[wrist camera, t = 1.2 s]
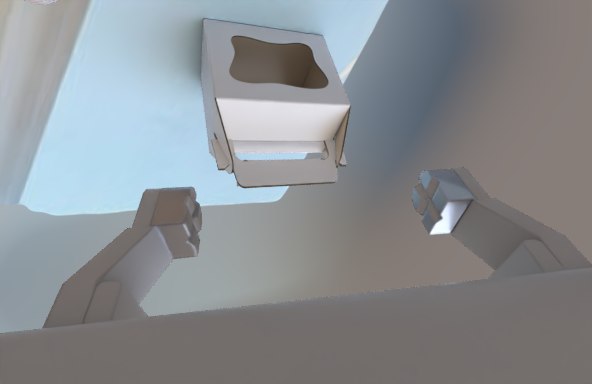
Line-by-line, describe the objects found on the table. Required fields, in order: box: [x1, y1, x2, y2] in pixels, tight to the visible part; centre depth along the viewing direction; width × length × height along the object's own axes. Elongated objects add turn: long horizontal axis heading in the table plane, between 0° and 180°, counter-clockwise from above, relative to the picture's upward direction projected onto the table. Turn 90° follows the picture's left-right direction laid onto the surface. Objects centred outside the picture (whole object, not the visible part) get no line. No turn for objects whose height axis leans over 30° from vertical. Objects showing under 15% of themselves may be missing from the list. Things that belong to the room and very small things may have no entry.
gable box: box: [201, 19, 351, 188], centre depth 52 cm, size 22×13×28 cm, turn 73°
